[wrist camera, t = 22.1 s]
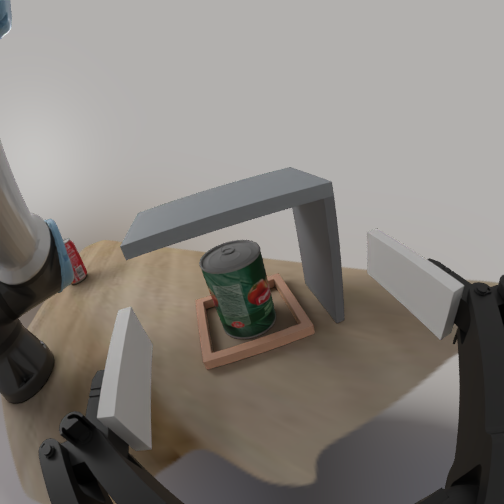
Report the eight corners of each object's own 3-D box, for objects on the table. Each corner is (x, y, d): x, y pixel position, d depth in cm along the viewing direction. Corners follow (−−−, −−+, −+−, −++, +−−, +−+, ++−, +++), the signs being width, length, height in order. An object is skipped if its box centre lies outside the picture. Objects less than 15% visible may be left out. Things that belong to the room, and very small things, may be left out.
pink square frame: (207, 369, 33) (203, 362, 32) (198, 307, 46) (195, 300, 45) (314, 333, 34) (313, 325, 34) (280, 280, 47) (278, 273, 47)
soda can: (75, 275, 73) (58, 241, 67) (92, 271, 72) (75, 234, 67) (65, 288, 66) (47, 251, 61) (82, 283, 66) (63, 245, 61)
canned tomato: (284, 327, 37) (268, 257, 32) (228, 346, 36) (202, 279, 31) (267, 297, 44) (251, 234, 39) (219, 313, 43) (196, 251, 38)
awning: (186, 374, 33) (120, 246, 25) (183, 319, 43) (138, 213, 35) (344, 320, 35) (331, 181, 27) (309, 278, 46) (290, 167, 38)
